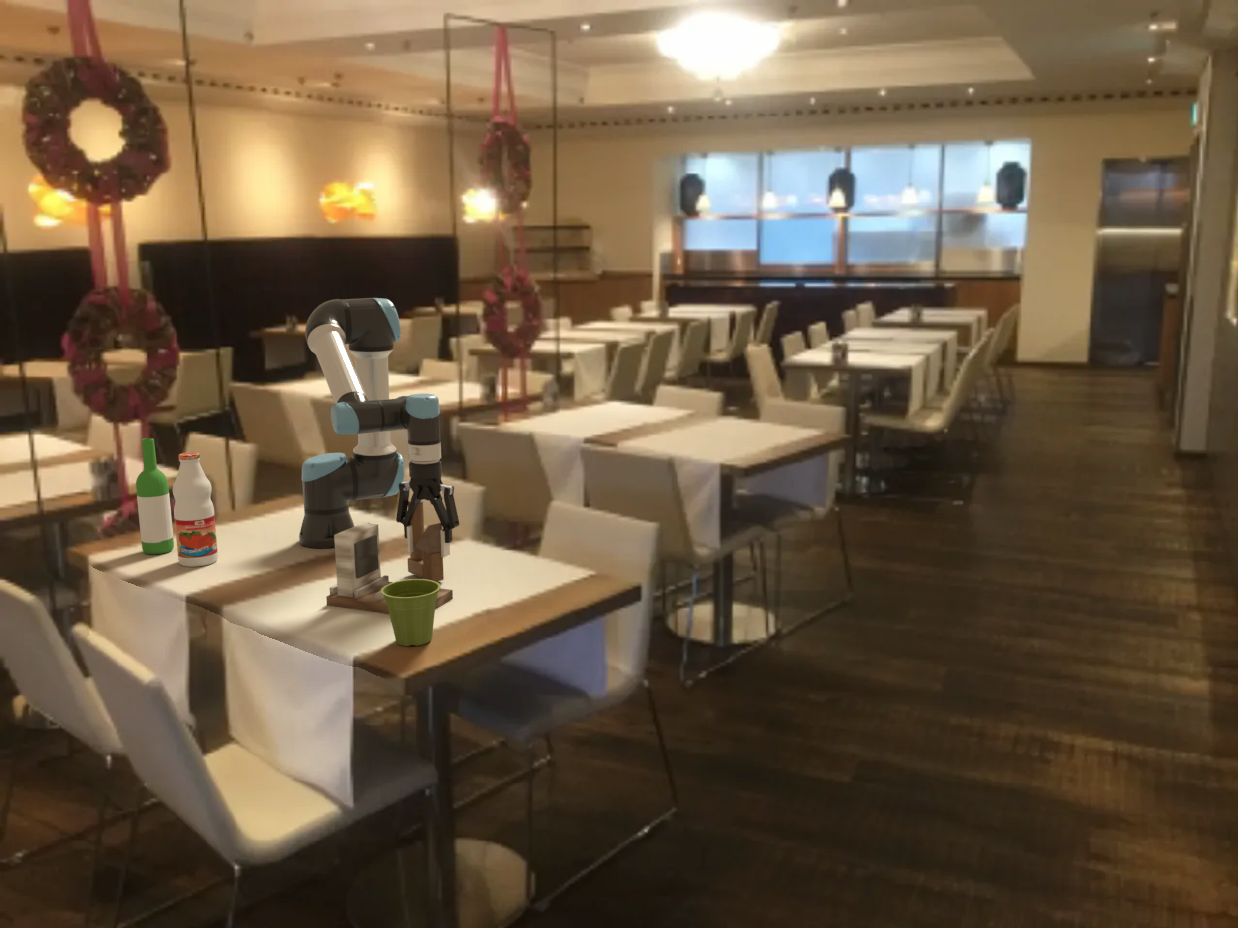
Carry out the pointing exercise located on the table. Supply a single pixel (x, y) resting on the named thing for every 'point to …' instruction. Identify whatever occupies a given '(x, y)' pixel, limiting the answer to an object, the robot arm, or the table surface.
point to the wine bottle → (154, 504)
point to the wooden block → (425, 548)
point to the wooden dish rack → (363, 572)
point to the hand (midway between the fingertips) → (428, 553)
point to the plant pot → (412, 609)
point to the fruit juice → (194, 514)
